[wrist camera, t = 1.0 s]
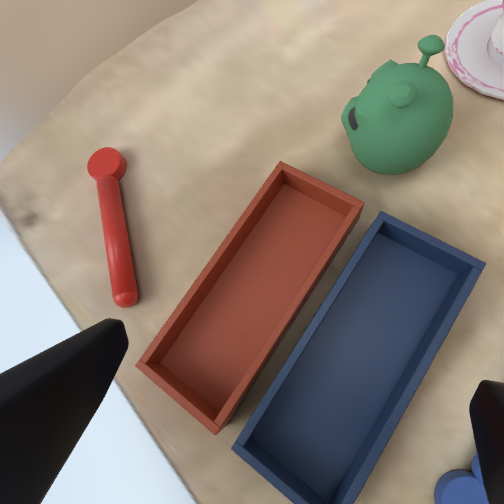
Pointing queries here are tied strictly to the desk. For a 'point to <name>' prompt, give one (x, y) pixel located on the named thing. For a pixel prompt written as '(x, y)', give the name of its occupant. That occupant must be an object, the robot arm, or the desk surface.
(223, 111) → the desk surface
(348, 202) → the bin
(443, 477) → the blue spoon
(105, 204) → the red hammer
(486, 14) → the teacup
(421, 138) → the alien toy
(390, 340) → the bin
